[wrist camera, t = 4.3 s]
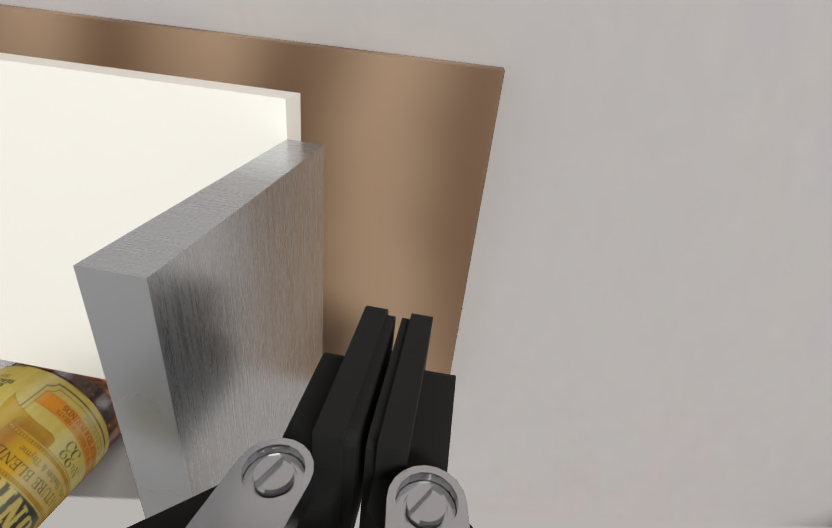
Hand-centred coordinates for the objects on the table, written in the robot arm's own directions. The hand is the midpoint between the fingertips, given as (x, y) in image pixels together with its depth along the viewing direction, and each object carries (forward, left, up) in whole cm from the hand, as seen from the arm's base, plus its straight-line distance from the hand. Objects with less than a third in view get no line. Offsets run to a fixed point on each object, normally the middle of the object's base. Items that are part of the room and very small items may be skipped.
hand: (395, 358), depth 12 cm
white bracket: (+10, 0, -5) cm, 11 cm away
